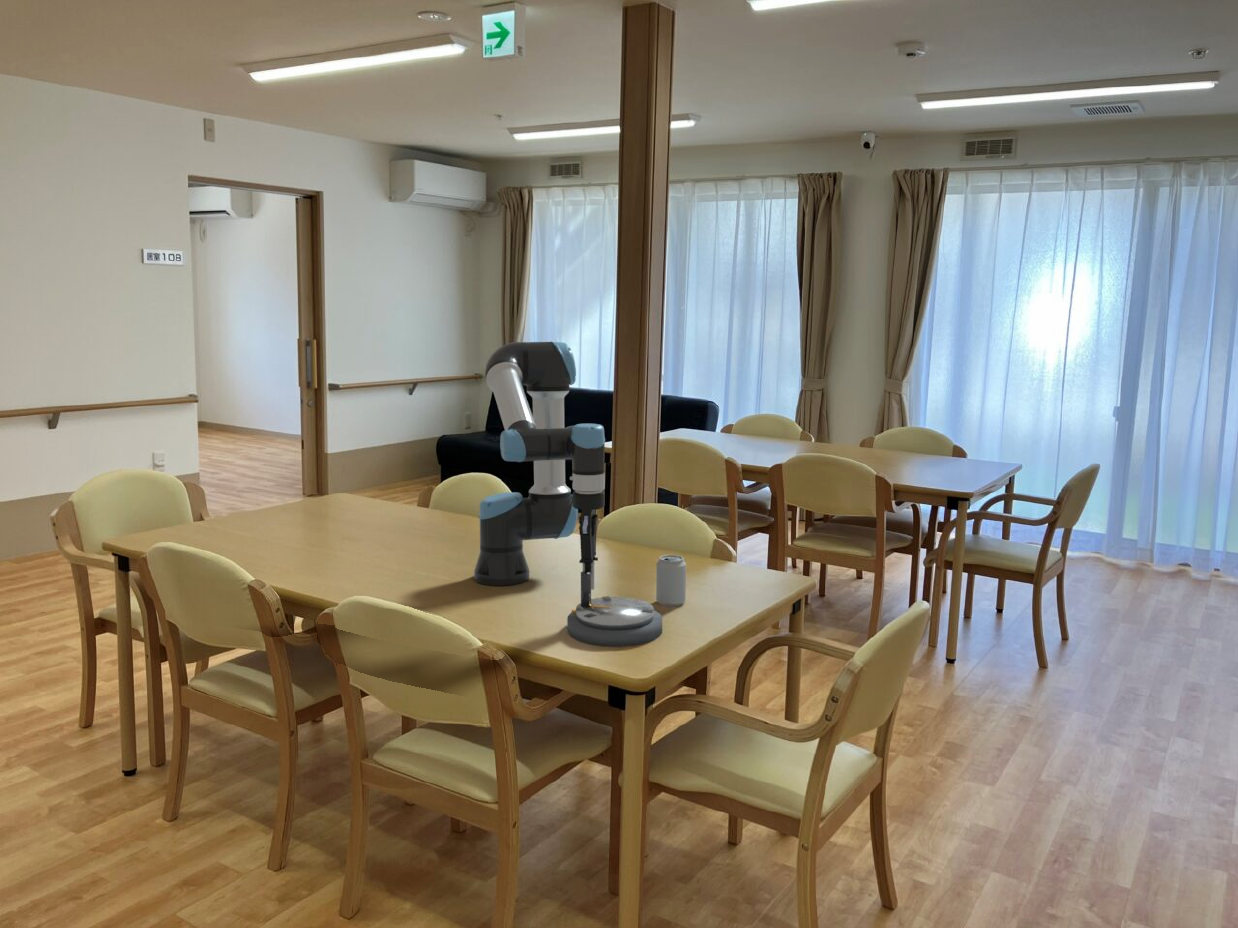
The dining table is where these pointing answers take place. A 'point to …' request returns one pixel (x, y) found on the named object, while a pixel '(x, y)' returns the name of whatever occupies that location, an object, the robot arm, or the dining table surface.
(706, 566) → the dining table surface
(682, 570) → the can
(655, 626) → the base
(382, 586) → the dining table surface
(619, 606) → the peg stand
